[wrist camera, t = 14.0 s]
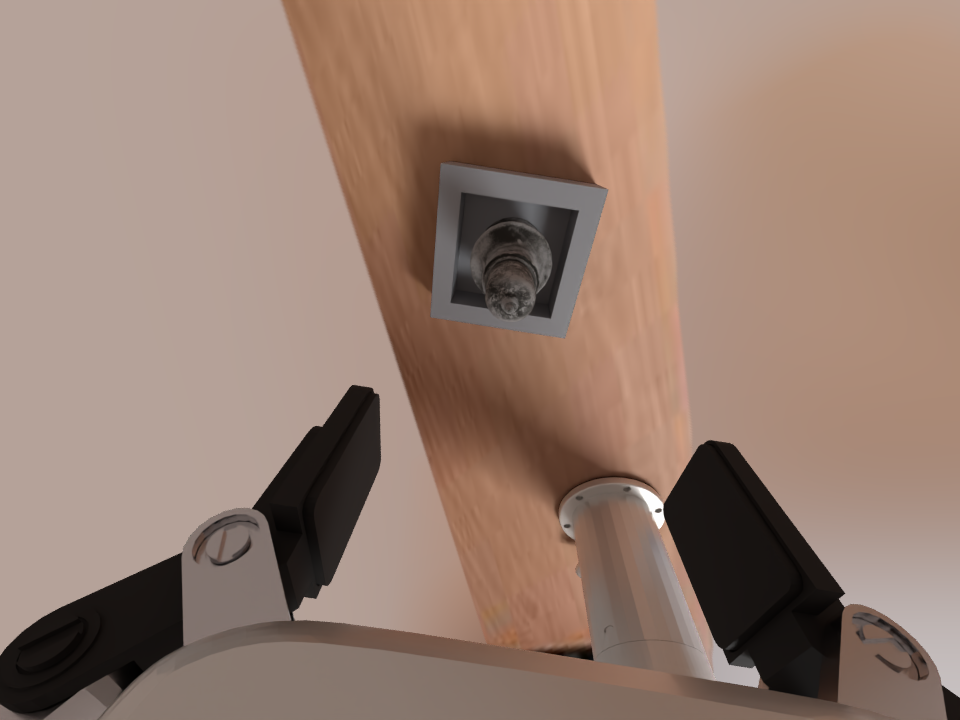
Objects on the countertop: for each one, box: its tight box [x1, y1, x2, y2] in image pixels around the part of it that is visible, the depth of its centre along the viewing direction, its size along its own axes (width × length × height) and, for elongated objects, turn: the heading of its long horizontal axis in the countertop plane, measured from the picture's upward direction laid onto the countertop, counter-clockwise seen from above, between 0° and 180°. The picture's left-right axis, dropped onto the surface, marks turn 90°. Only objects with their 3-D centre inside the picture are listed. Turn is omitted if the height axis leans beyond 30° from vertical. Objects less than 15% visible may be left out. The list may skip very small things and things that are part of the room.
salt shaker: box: [470, 217, 552, 322], centre depth 23 cm, size 6×6×12 cm
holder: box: [430, 161, 608, 338], centre depth 28 cm, size 11×11×4 cm
